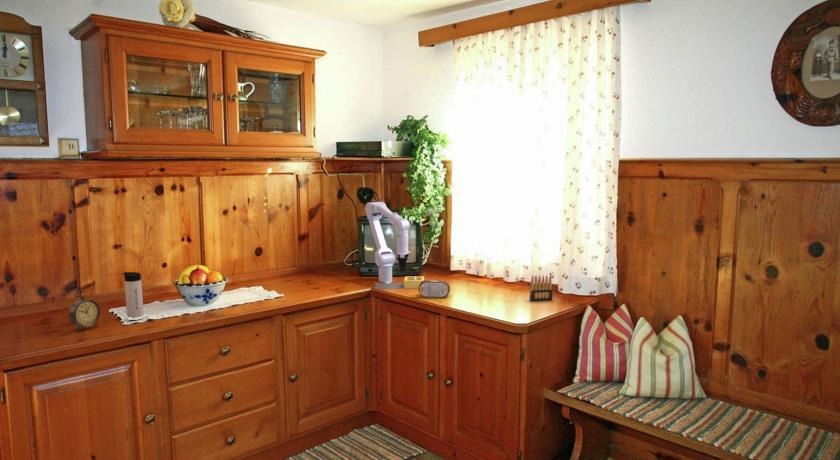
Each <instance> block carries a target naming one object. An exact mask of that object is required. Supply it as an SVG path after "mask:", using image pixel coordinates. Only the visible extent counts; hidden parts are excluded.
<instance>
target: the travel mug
mask: <svg viewBox="0 0 840 460" xmlns="http://www.w3.org/2000/svg"><path fill="white" fill-rule="evenodd" d="M122 275H124V276H123V277H124V293H125V306H126V307H125V308H126V317H127V316H128V317H132V318H135V317H141V316H143V315H144V303H143V301H144V300H143V288H142V287H143V286H142V275H141V272H135V271H133V272H132V271H130V272H128V271H126V272H123V273H122Z"/></svg>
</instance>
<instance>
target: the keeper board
mask: <svg viewBox="0 0 840 460" xmlns="http://www.w3.org/2000/svg"><path fill="white" fill-rule="evenodd" d="M374 289H375V290H394V289H395V290H409V289H410V290H412V289H413V290H419V288H404V282H403V283H402V282H401V283H400V282H393V283H392V282H390V283H389V282H379V283H378V282H377V283H376V284H375V287H374Z"/></svg>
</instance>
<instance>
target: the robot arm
mask: <svg viewBox="0 0 840 460" xmlns="http://www.w3.org/2000/svg"><path fill="white" fill-rule="evenodd" d="M364 212H365V214H366V218H367V220H368V223H369V226H370V229H371V233H372V236H373V239H374V243H375V246H376V249H377V250H376V251H375V252H374V262H375V264H376V266H377V267H378V281H379V283H389V282H390V283H391V282H392V281H393V266H394V264H395V262H396V260H397V262H398V265H399V270H400V272H405V270H406V266H407V261H408V259H409V258H408V256H409V254H411V251H409V230H411V222H410V221H409V219H408V218H407V219H406V218H405V219H404V218H403V217H401V216H400V214H398V212H392V211H391V210H390V209H389V208H388V207H387V205H386V203H385V202H384V201H374V202H373V201H372V202H370V201H369V202H368V201H367V203H366V205H365V208H364ZM383 216H384V217H385V218H387V222H389V224H391V225H393V226H394V230H395V234H396V248H397V249H396V254H397V257H396V256H395V254H394V252H393V250H392V249H391V248H390V247H388V245H387V242H386V239H385V236H384V233H383V229H382V226H381V222H380V219H382V217H383Z"/></svg>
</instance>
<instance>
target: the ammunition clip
mask: <svg viewBox="0 0 840 460" xmlns="http://www.w3.org/2000/svg"><path fill="white" fill-rule="evenodd" d="M543 301H545V302H546V301H553V282H552V275H551V274H550V275H549V276H548V275H544V274H543V275H542V277H541V275H539V276H537V275H535V277H534V275H531V279H530V289H529V302H543Z"/></svg>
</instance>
